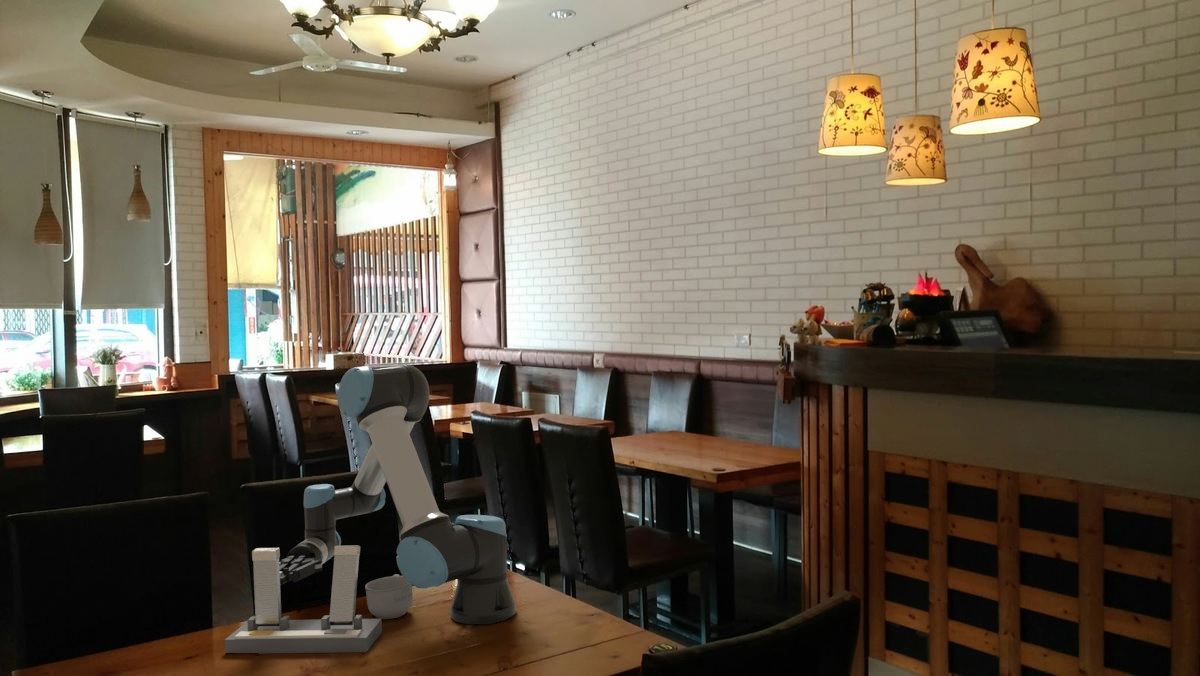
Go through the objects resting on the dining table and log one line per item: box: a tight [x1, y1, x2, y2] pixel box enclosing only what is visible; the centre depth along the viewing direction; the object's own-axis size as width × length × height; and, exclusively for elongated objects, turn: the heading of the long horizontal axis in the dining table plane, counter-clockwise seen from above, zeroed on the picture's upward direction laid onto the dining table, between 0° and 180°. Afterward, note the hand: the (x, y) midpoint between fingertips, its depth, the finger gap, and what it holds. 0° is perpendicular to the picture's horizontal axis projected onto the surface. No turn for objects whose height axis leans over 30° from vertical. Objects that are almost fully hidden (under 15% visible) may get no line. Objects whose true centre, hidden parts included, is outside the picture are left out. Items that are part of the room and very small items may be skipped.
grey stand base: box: [224, 614, 383, 654], centre depth 193 cm, size 30×12×6 cm, turn 89°
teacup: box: [364, 574, 414, 620], centre depth 212 cm, size 14×11×8 cm
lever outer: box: [251, 547, 282, 627], centre depth 193 cm, size 5×2×17 cm, turn 89°
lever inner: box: [329, 544, 361, 626], centre depth 195 cm, size 5×2×17 cm, turn 89°
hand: (267, 586), depth 194 cm, fingers closed
